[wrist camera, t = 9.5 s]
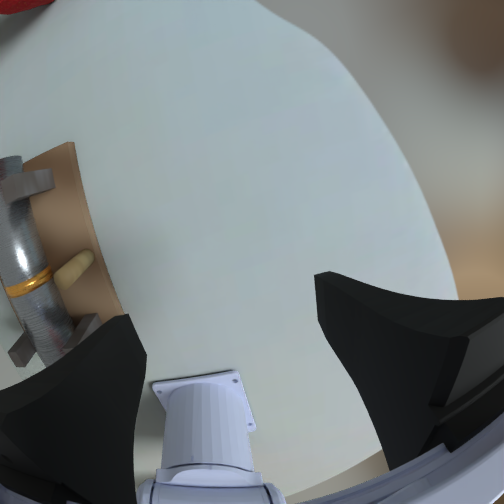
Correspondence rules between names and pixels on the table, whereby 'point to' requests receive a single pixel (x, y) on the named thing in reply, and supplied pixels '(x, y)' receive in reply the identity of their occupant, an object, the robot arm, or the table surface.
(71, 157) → the collar stand
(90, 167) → the table surface
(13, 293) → the silver metal cylinder
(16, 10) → the strawberry
